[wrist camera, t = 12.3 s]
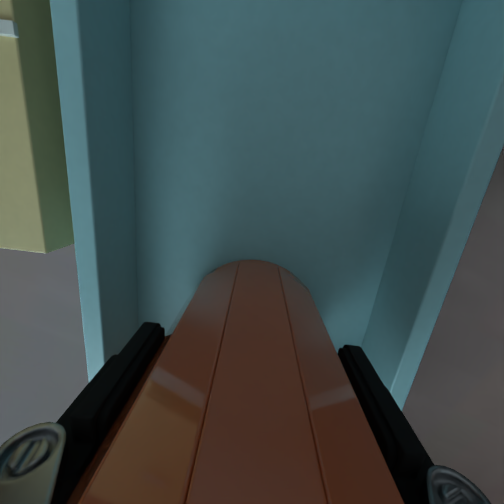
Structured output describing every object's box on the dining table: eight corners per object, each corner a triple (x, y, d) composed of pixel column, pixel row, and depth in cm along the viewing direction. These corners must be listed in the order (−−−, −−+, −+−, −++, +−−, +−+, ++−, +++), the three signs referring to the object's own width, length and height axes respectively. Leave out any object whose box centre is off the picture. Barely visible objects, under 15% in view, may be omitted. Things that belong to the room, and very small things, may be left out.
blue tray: (110, -118, 8) (16, -304, 5) (498, -69, 9) (646, -222, 5) (130, 380, 15) (93, 437, 11) (353, 405, 15) (380, 469, 12)
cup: (189, 251, 12) (-42, 500, 3) (327, 267, 12) (553, 563, 3) (185, 364, 14) (41, 728, 5) (303, 377, 14) (389, 763, 5)
